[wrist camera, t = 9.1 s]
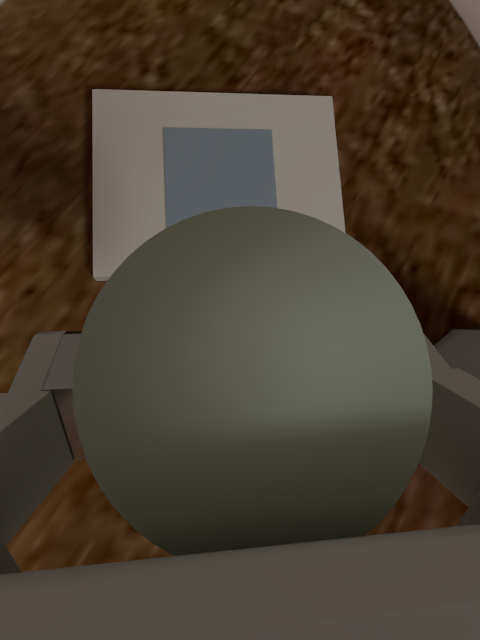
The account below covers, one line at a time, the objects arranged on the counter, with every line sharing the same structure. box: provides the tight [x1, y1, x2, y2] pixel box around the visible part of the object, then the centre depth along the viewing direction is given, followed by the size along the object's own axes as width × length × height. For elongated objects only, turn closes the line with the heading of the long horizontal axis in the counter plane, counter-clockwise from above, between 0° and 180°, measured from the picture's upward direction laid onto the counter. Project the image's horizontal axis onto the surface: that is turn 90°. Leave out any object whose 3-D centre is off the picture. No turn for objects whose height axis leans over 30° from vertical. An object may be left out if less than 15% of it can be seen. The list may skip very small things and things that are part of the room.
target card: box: [92, 89, 345, 281], centre depth 30 cm, size 18×14×1 cm
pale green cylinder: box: [72, 206, 433, 556], centre depth 10 cm, size 4×4×11 cm
